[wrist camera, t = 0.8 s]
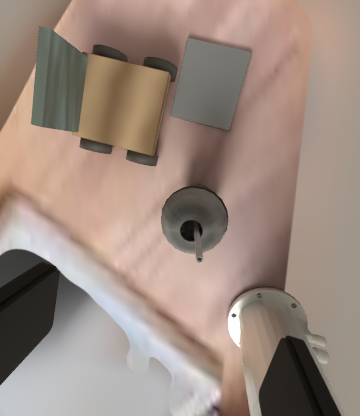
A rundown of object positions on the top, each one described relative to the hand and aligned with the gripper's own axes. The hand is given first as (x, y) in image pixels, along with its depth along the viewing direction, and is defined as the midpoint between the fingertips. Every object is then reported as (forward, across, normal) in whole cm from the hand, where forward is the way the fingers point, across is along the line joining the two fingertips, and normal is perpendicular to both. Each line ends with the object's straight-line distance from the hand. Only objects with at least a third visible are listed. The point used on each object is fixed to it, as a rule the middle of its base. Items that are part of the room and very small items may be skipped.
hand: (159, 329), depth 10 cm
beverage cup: (+28, 0, 0) cm, 28 cm away
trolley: (+28, +13, -10) cm, 32 cm away
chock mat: (+28, +3, -16) cm, 32 cm away
